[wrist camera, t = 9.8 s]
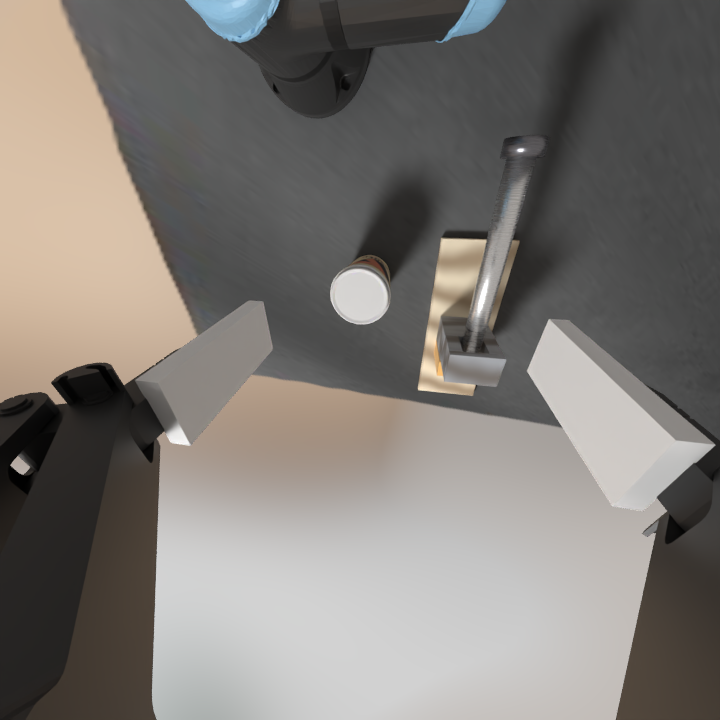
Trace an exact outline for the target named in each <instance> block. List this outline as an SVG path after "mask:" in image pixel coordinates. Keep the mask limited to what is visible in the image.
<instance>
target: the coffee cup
mask: <svg viewBox="0 0 720 720" xmlns="http://www.w3.org/2000/svg"><path fill="white" fill-rule="evenodd" d="M330 295H331V301H332V304H333V306H334V308H335V310H336V311H337V313H338V314H339V315H340V316H341V317H342V318H344V319H345V320H347V321H349V322H351V323H355V324H369V323H372V322H375V321H376V320H378V319H379V318H381V317H382V316H383V315H384V314H385V312H386V311H387V309H388V307H389V304H390V299H391V293H390V272H389V269H388V266H387V265H386V263H385V262H384V261H383V260H382V259H380V258H379V257H377V256H374V255H365V256H362V257H359V258H358V259H356V260H355V261H354V262H352V263H351V264H350V265H349V266H347V267H346V268H344V269H343V270H341V271H340V272H339V273H338V274H337V275H336V277H335V278H334V280H333V282H332V285H331V291H330Z"/></svg>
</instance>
